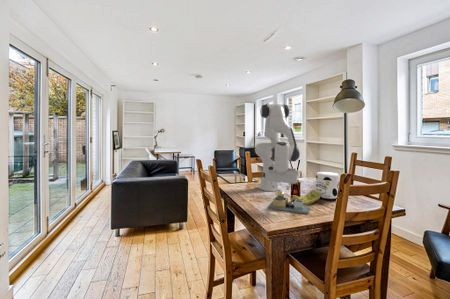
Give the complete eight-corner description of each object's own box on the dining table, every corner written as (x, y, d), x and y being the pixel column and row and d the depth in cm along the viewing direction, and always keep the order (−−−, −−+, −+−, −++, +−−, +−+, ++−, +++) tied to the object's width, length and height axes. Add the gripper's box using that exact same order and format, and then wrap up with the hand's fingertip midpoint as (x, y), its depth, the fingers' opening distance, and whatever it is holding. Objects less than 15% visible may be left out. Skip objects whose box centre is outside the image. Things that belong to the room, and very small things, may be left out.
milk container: (312, 199, 175) (313, 174, 173) (315, 193, 190) (316, 170, 189) (338, 202, 167) (340, 176, 165) (340, 196, 182) (341, 172, 181)
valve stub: (277, 203, 159) (278, 191, 158) (284, 204, 157) (285, 192, 156) (276, 205, 155) (276, 193, 154) (283, 206, 153) (283, 193, 152)
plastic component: (303, 203, 157) (293, 193, 164) (300, 211, 160) (289, 201, 168) (323, 196, 167) (312, 188, 174) (319, 204, 171) (308, 196, 178)
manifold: (272, 203, 164) (272, 195, 164) (309, 208, 154) (310, 199, 154) (268, 208, 153) (268, 199, 153) (307, 214, 143) (308, 205, 143)
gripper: (298, 168, 152) (298, 189, 154) (267, 165, 161) (266, 185, 163) (297, 169, 147) (296, 192, 148) (264, 167, 155) (263, 188, 157)
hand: (280, 188), depth 155 cm, fingers open, 8 cm apart
